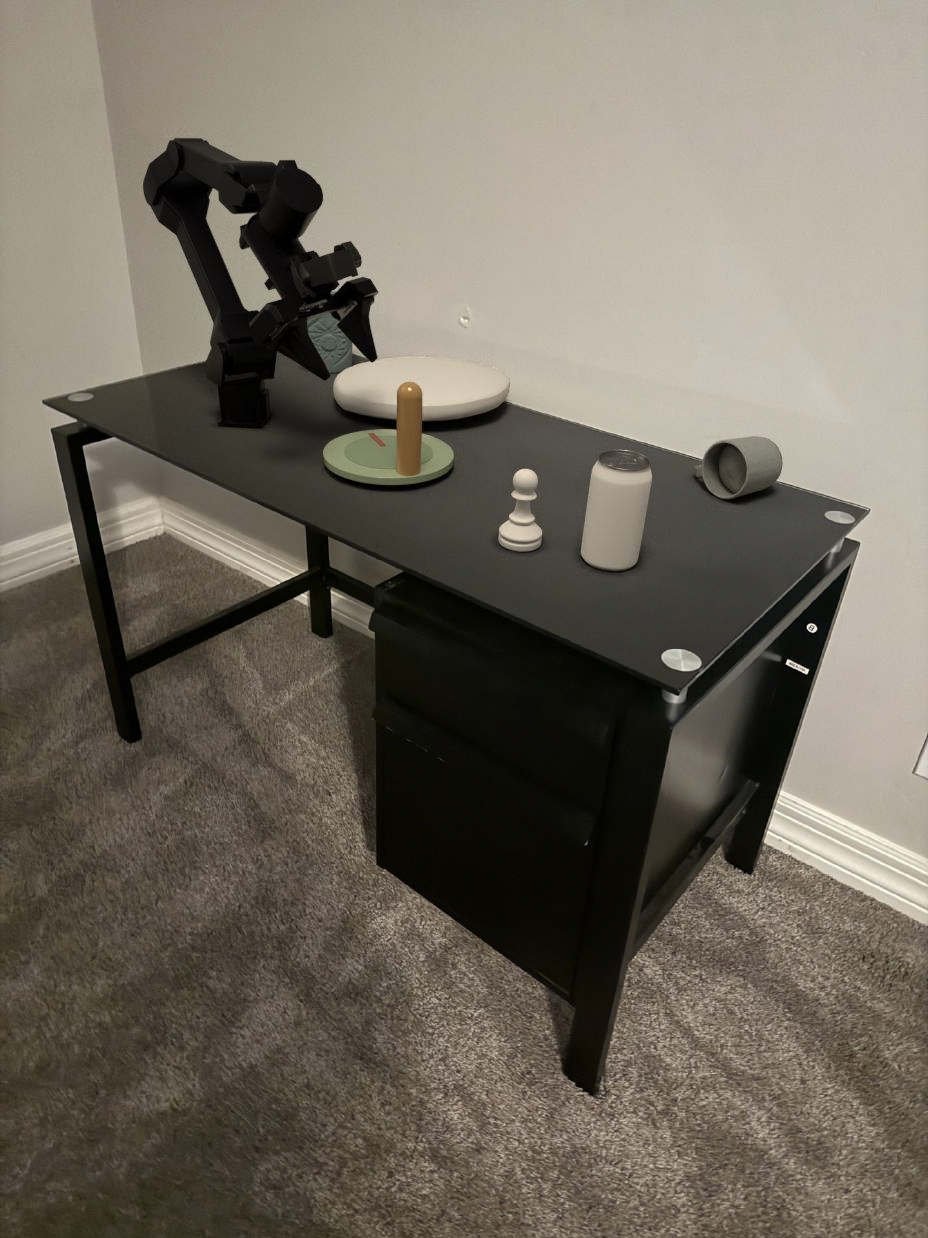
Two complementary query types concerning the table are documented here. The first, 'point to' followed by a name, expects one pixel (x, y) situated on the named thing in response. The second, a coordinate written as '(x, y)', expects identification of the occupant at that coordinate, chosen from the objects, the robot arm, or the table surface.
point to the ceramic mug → (740, 466)
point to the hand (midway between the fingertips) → (351, 369)
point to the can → (616, 510)
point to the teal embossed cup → (330, 342)
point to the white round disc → (422, 387)
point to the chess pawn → (522, 516)
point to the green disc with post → (392, 448)
